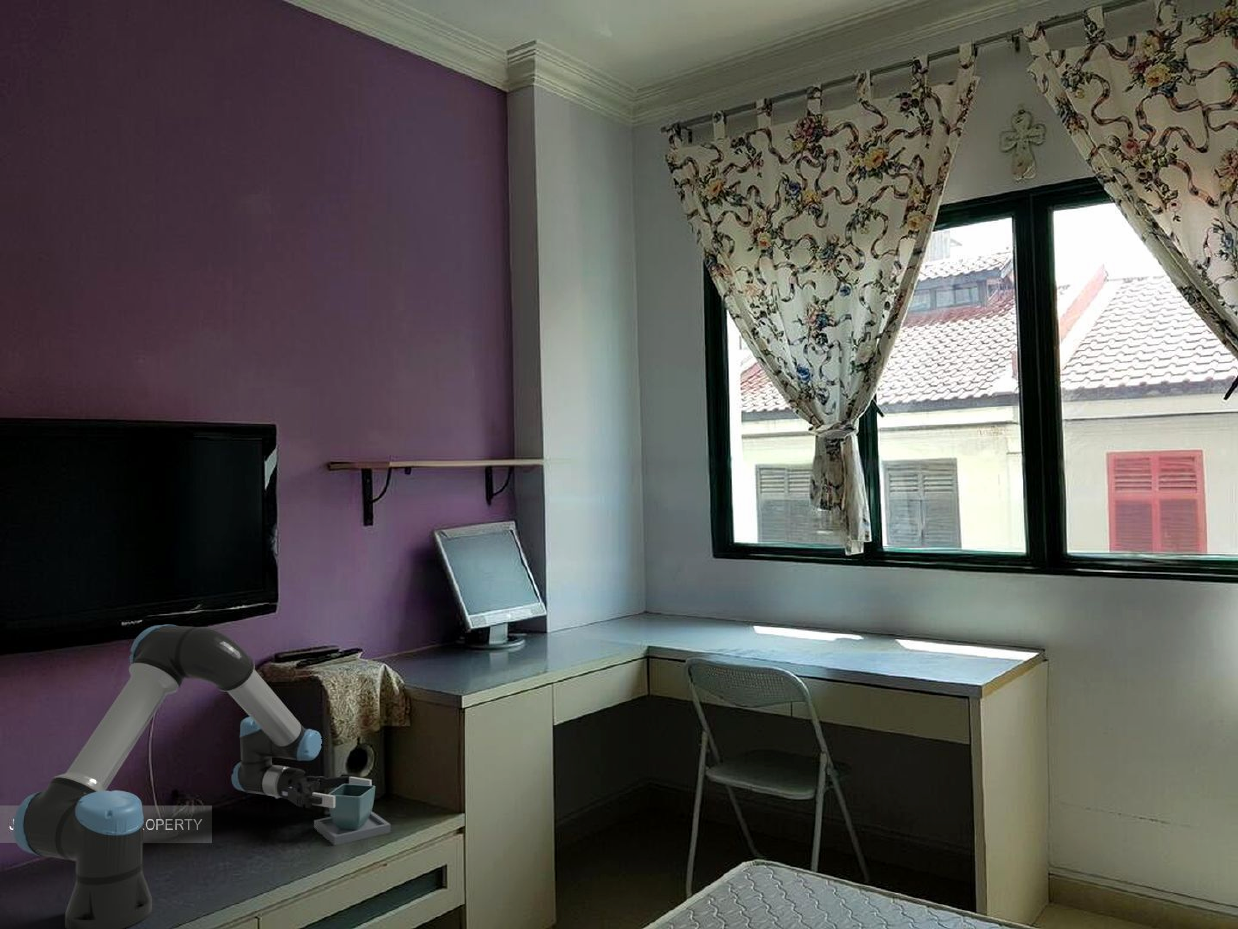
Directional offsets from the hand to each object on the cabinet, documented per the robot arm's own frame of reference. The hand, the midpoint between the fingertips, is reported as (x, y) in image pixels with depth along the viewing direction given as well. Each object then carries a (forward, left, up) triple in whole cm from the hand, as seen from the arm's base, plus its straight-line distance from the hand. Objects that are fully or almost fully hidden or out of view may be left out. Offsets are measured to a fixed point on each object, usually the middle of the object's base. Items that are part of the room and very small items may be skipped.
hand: (353, 793), depth 237 cm
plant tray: (0, 0, -9) cm, 9 cm away
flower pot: (0, 0, -8) cm, 8 cm away
